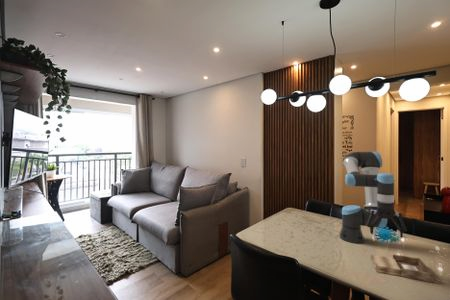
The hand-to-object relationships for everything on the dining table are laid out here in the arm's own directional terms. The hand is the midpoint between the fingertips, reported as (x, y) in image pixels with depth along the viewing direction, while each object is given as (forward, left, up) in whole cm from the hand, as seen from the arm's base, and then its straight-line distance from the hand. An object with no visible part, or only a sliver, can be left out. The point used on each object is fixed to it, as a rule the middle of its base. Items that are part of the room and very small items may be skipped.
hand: (386, 241), depth 118 cm
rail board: (+6, 0, -14) cm, 15 cm away
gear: (0, 0, -1) cm, 1 cm away
